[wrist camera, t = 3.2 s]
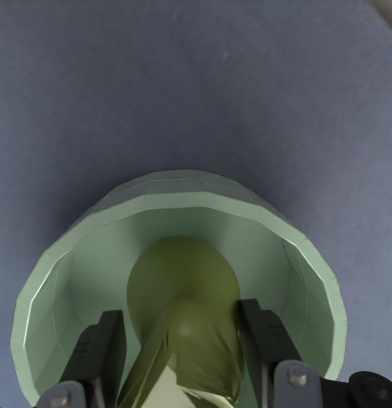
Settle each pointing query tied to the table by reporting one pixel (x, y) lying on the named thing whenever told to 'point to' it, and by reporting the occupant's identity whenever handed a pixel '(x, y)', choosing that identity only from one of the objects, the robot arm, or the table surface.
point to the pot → (156, 230)
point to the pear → (184, 328)
